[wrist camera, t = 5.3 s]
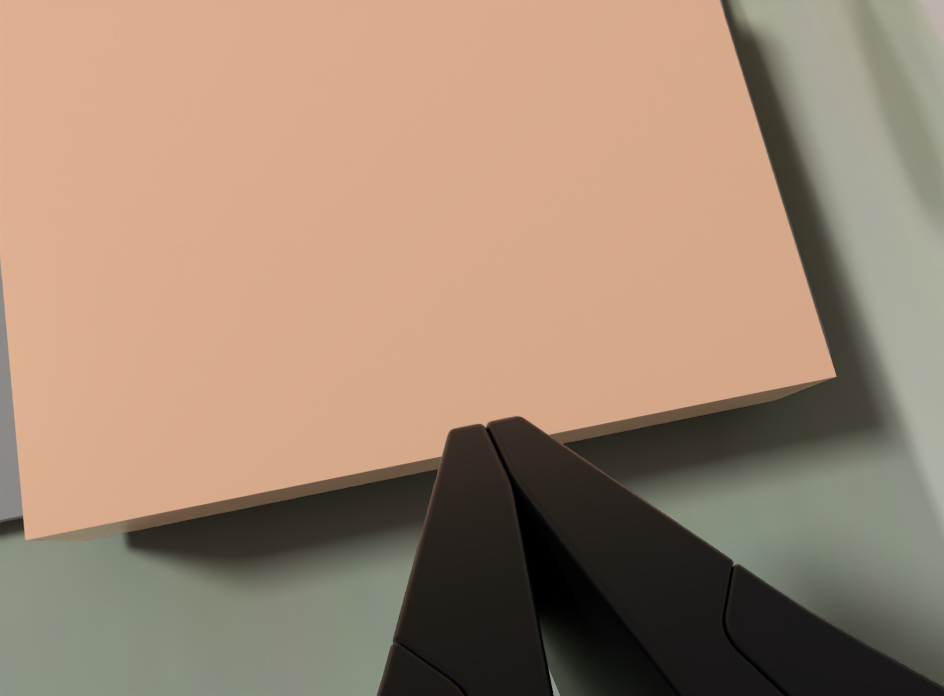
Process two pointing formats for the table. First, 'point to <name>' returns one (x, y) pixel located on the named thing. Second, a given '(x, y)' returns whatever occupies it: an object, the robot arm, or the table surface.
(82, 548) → the table surface
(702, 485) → the table surface
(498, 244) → the terracotta tile
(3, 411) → the mat
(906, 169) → the table surface
